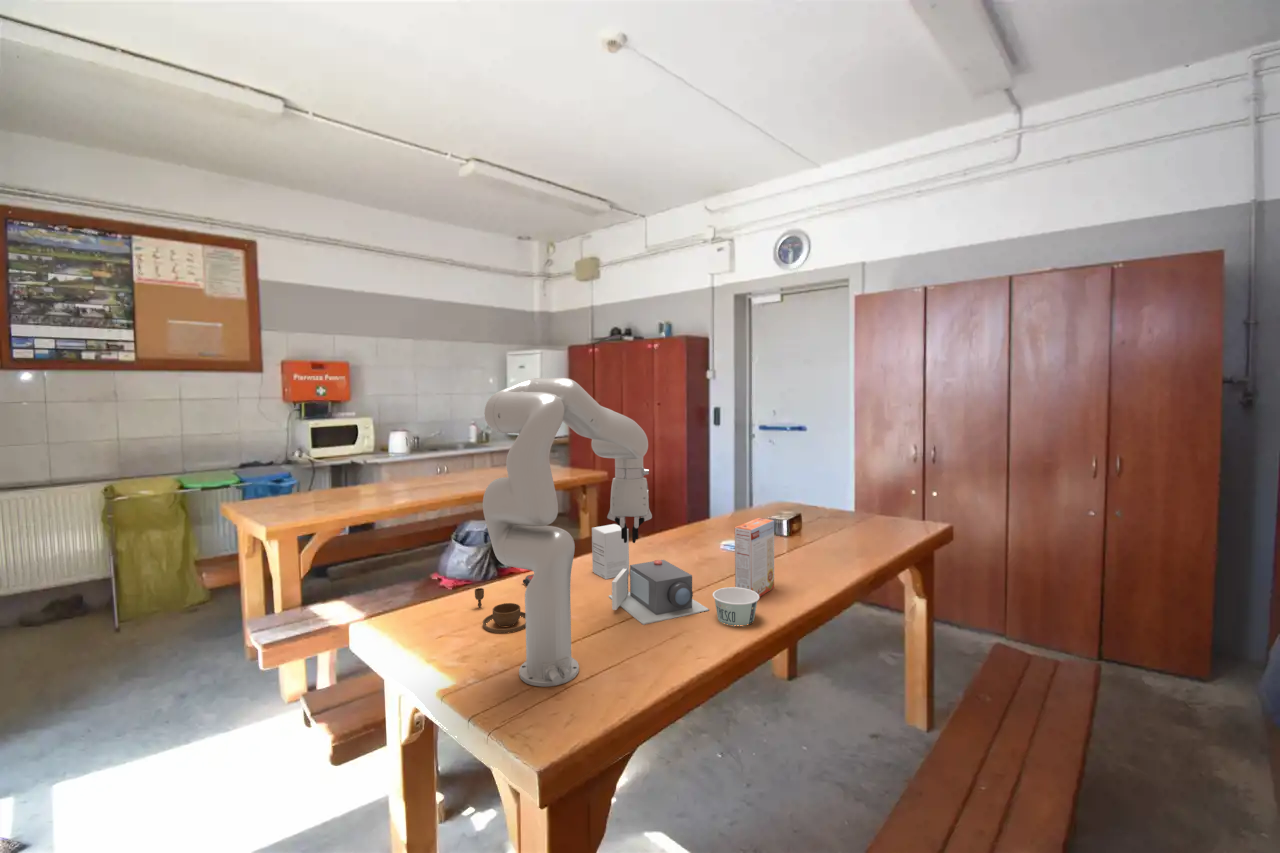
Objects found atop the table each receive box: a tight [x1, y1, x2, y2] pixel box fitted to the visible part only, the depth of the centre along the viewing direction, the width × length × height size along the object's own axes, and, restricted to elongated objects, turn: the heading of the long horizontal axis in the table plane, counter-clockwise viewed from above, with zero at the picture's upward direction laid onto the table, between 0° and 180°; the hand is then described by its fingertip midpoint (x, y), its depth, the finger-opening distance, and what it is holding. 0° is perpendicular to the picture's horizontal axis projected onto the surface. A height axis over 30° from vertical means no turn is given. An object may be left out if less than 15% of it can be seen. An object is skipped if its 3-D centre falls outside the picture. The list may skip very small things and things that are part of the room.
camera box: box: [608, 559, 710, 626], centre depth 165 cm, size 22×20×10 cm
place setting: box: [474, 587, 526, 634], centre depth 156 cm, size 18×20×6 cm
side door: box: [611, 567, 629, 611], centre depth 164 cm, size 13×1×8 cm, turn 166°
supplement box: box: [591, 523, 630, 580], centre depth 191 cm, size 9×9×15 cm
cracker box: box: [734, 517, 775, 598], centre depth 172 cm, size 14×6×21 cm, turn 141°
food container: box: [712, 586, 760, 627], centre depth 154 cm, size 12×12×6 cm
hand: (629, 541), depth 159 cm, fingers closed
